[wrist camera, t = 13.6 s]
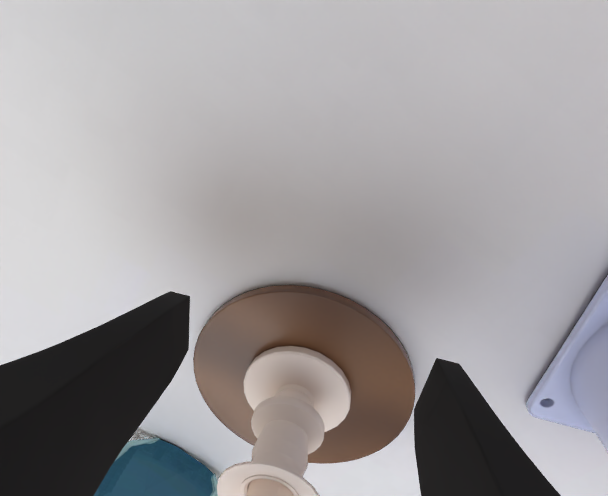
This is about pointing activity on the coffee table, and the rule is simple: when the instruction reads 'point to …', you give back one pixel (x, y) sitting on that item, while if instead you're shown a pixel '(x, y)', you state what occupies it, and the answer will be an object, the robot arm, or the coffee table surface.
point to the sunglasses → (156, 472)
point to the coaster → (318, 337)
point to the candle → (287, 420)
